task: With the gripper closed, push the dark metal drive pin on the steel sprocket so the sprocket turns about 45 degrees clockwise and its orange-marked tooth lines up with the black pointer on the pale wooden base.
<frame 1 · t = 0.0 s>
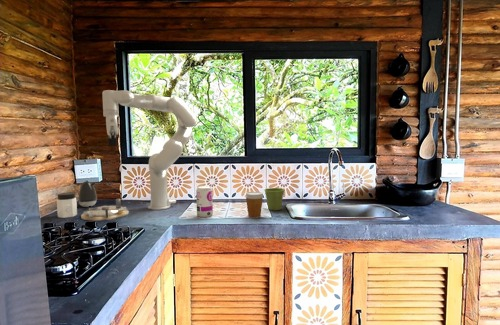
hand: (112, 145, 174), 37 cm above the counter, tool pointing down, fingers open, 9 cm apart
jar: (67, 216, 170), on the counter
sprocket: (105, 206, 170), point 5 cm above the counter, hinge at 0.0°
disposable coffee cup: (254, 216, 165), on the counter
gray teardrop vessel: (88, 206, 194), on the counter
supplement can: (204, 215, 168), on the counter
plant pot: (274, 209, 181), on the counter
sprocket base: (105, 215, 171), on the counter
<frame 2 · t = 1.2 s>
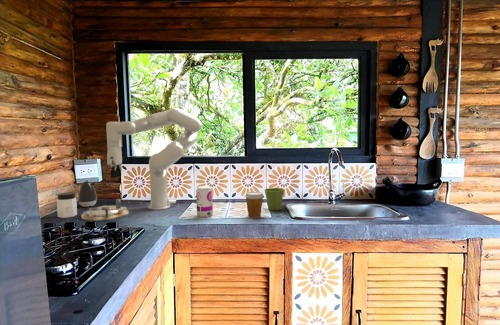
hand: (116, 176, 178), 19 cm above the counter, tool pointing down, fingers open, 5 cm apart
nothing on the counter moved.
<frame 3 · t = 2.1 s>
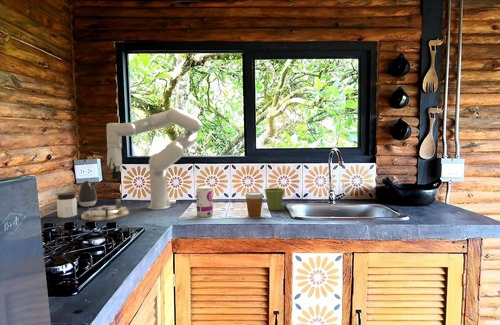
hand: (115, 178, 178), 18 cm above the counter, tool pointing down, fingers closed
nothing on the counter moved.
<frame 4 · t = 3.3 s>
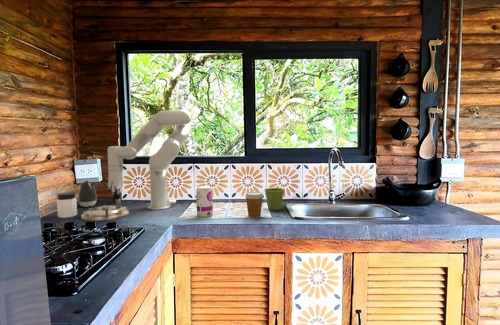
hand: (117, 201, 179), 6 cm above the counter, tool pointing down, fingers closed
nothing on the counter moved.
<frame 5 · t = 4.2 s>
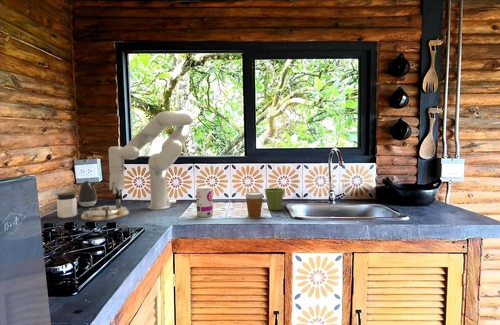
hand: (118, 202, 176), 6 cm above the counter, tool pointing down, fingers closed
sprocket: (105, 206, 170), point 5 cm above the counter, hinge at -3.1°, touching gripper
everything else where it was.
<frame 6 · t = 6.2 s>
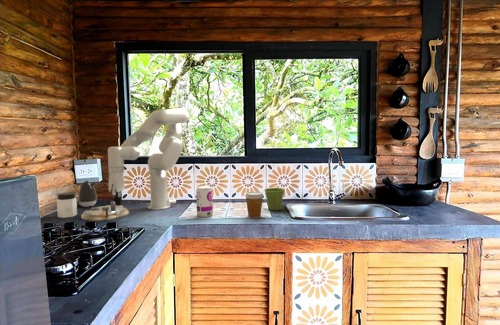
hand: (117, 204, 170), 6 cm above the counter, tool pointing down, fingers closed
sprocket: (105, 206, 170), point 5 cm above the counter, hinge at -57.8°, touching gripper
everything else where it was.
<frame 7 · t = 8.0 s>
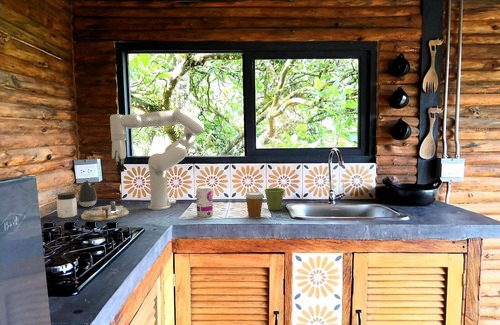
hand: (120, 171, 174), 23 cm above the counter, tool pointing down, fingers closed
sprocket: (105, 206, 170), point 5 cm above the counter, hinge at -57.8°
everything else where it was.
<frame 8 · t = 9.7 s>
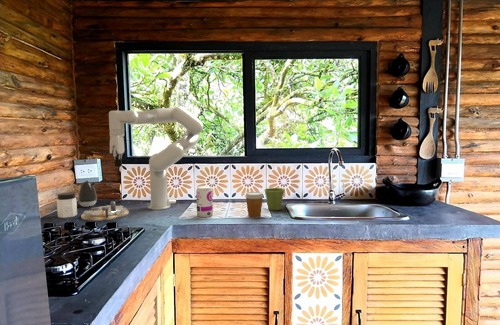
hand: (118, 166, 178), 25 cm above the counter, tool pointing down, fingers closed
nothing on the counter moved.
at the end: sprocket at -58° (first picture: +0°); jar moved 0.2 cm from its start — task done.
